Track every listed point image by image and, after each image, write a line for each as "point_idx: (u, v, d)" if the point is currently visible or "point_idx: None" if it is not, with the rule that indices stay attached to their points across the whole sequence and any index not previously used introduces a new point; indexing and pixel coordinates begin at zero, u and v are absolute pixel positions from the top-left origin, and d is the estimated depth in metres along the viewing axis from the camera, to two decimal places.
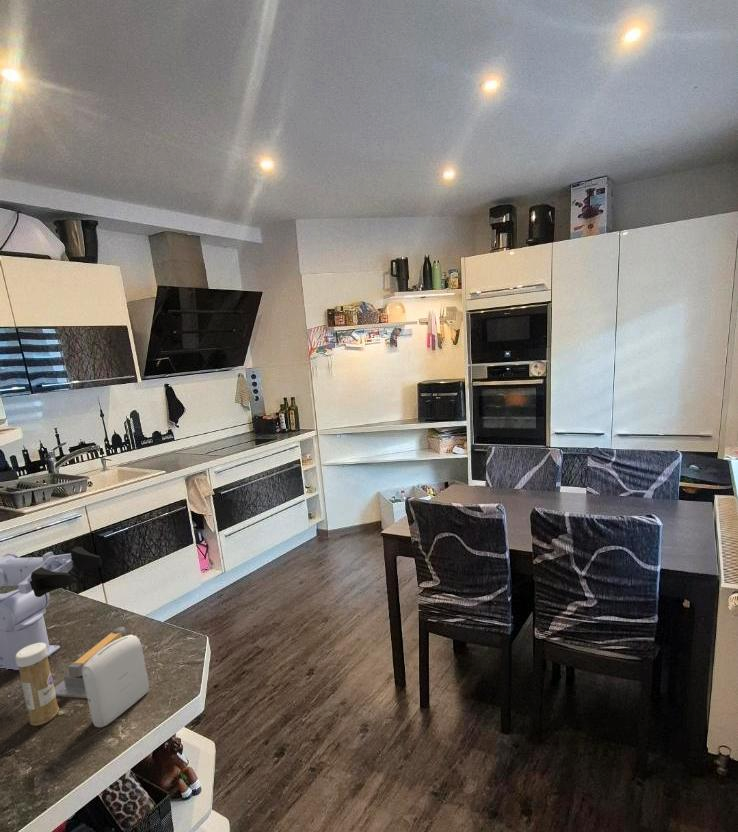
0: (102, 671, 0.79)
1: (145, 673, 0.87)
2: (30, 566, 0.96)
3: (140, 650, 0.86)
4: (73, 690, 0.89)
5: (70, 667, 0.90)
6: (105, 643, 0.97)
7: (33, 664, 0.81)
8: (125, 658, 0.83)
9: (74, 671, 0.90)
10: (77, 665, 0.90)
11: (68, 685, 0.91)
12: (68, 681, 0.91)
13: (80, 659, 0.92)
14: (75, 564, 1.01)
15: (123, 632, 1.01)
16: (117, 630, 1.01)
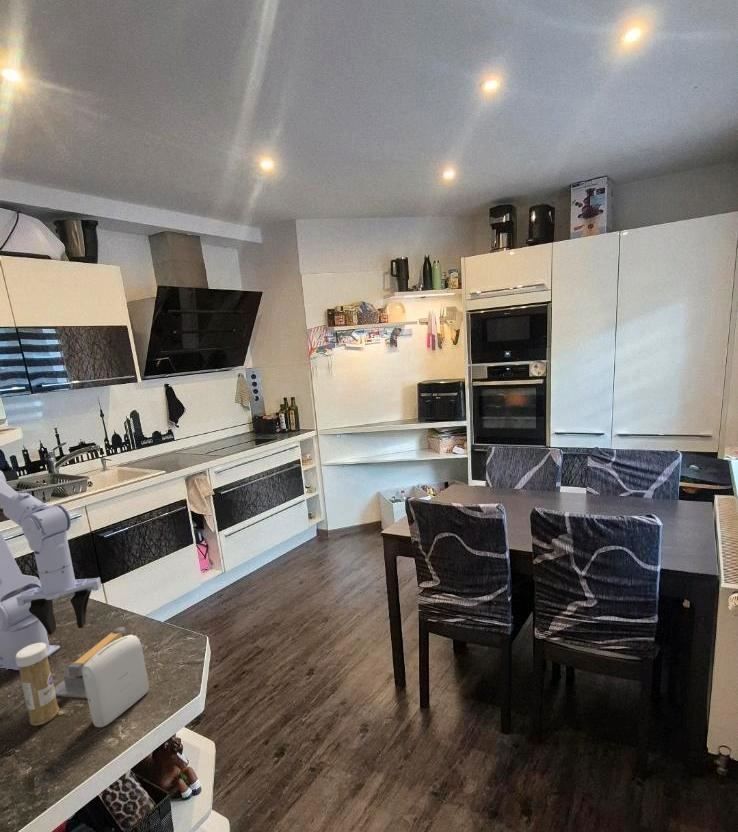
0: (102, 671, 0.79)
1: (145, 673, 0.87)
2: (41, 581, 0.91)
3: (140, 650, 0.86)
4: (73, 690, 0.89)
5: (70, 667, 0.90)
6: (105, 643, 0.97)
7: (33, 664, 0.81)
8: (125, 658, 0.83)
9: (74, 671, 0.90)
10: (77, 665, 0.90)
11: (68, 685, 0.91)
12: (68, 681, 0.91)
13: (80, 659, 0.92)
14: None
15: (123, 632, 1.01)
16: (117, 630, 1.01)
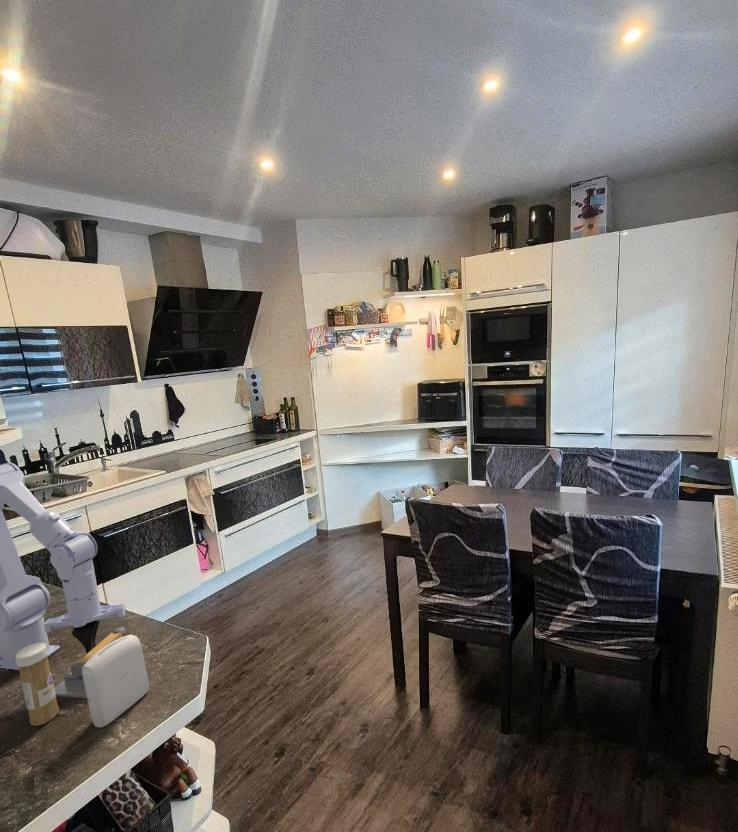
0: (102, 671, 0.79)
1: (145, 673, 0.87)
2: (69, 609, 0.92)
3: (140, 650, 0.86)
4: (73, 690, 0.89)
5: (73, 667, 0.90)
6: (106, 643, 0.97)
7: (33, 664, 0.81)
8: (125, 658, 0.83)
9: (77, 671, 0.89)
10: (80, 665, 0.90)
11: (68, 685, 0.91)
12: (68, 681, 0.91)
13: (82, 659, 0.92)
14: None
15: (123, 632, 1.01)
16: (117, 630, 1.01)
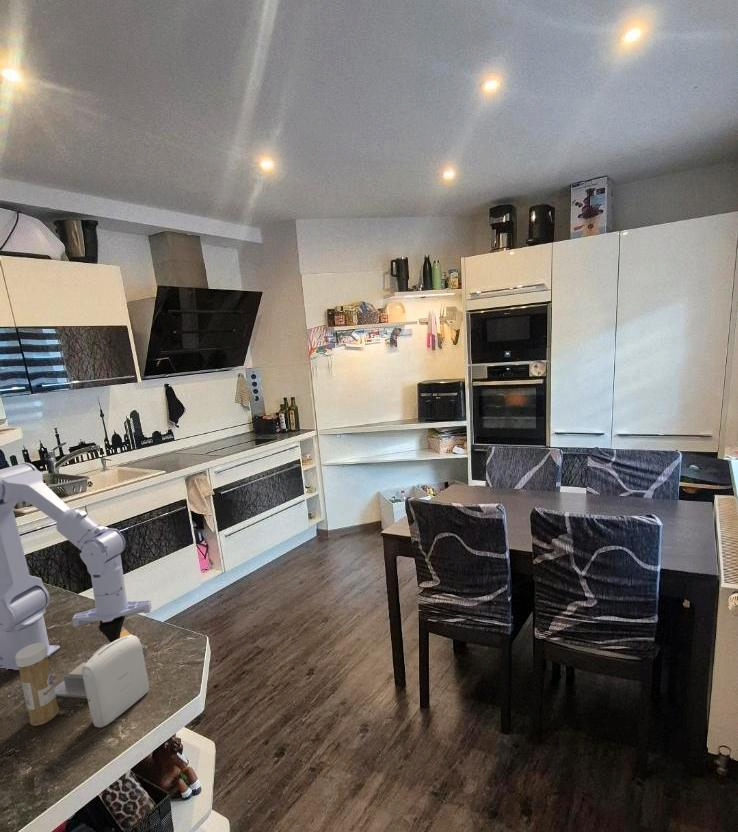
0: (102, 671, 0.79)
1: (145, 673, 0.87)
2: (97, 604, 0.93)
3: (140, 650, 0.86)
4: (73, 690, 0.89)
5: None
6: None
7: (33, 664, 0.81)
8: (125, 658, 0.83)
9: None
10: None
11: (68, 685, 0.91)
12: (68, 681, 0.91)
13: None
14: None
15: None
16: None
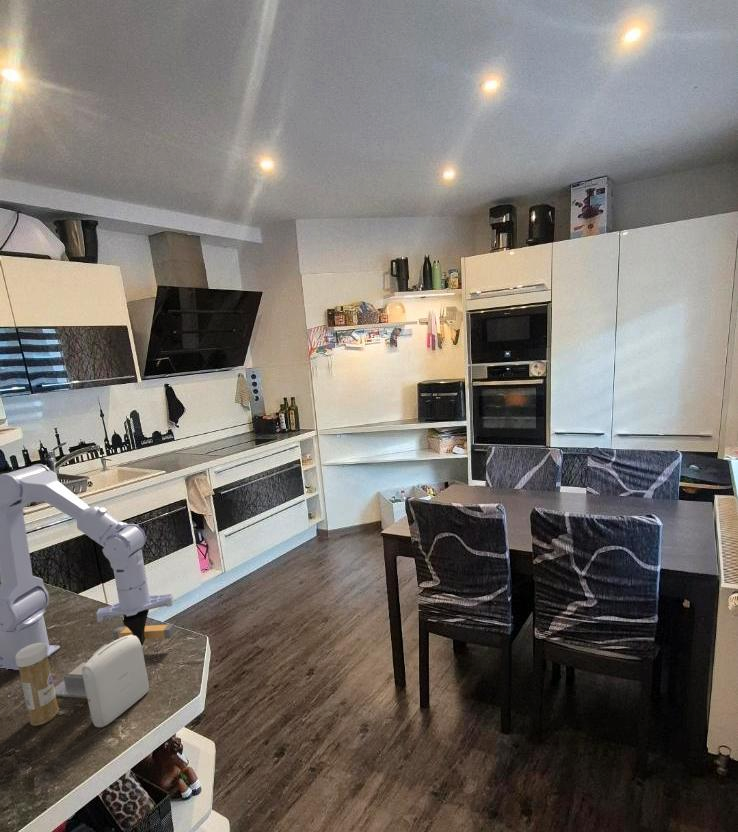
0: (102, 671, 0.79)
1: (145, 673, 0.87)
2: (120, 598, 0.95)
3: (140, 650, 0.86)
4: (73, 690, 0.89)
5: (170, 629, 1.00)
6: None
7: (33, 664, 0.81)
8: (125, 658, 0.83)
9: (172, 630, 1.01)
10: (170, 625, 1.01)
11: (68, 685, 0.91)
12: (68, 681, 0.91)
13: (160, 629, 1.00)
14: None
15: None
16: (119, 630, 1.01)
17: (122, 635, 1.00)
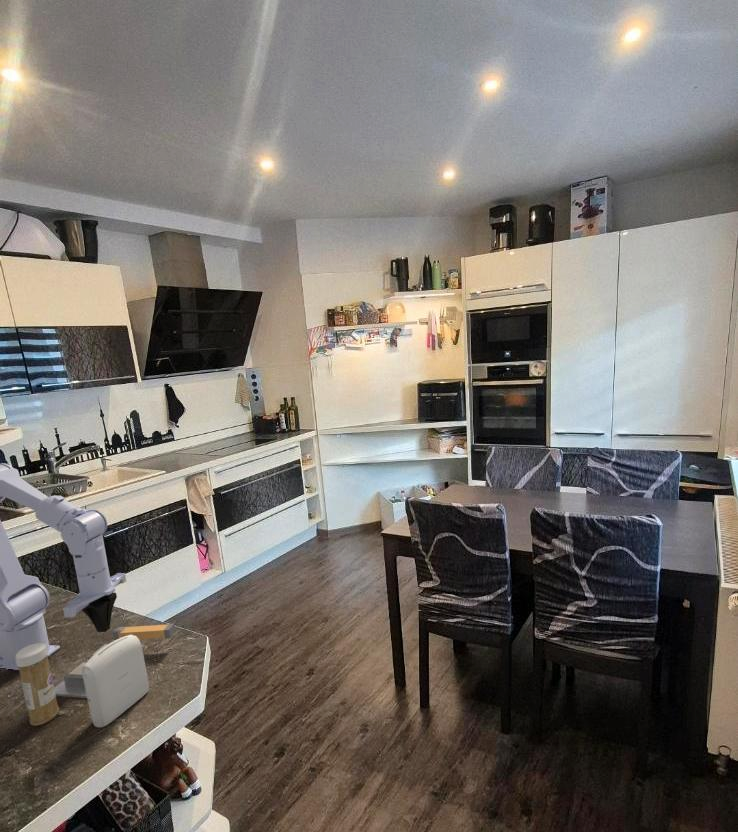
0: (102, 671, 0.79)
1: (145, 673, 0.87)
2: (95, 582, 0.94)
3: (140, 650, 0.86)
4: (73, 690, 0.89)
5: (170, 628, 1.00)
6: (140, 627, 1.02)
7: (33, 664, 0.81)
8: (125, 658, 0.83)
9: (172, 630, 1.01)
10: (170, 625, 1.01)
11: (68, 685, 0.91)
12: (68, 681, 0.91)
13: (160, 629, 1.00)
14: None
15: None
16: (119, 630, 1.01)
17: (122, 635, 1.00)
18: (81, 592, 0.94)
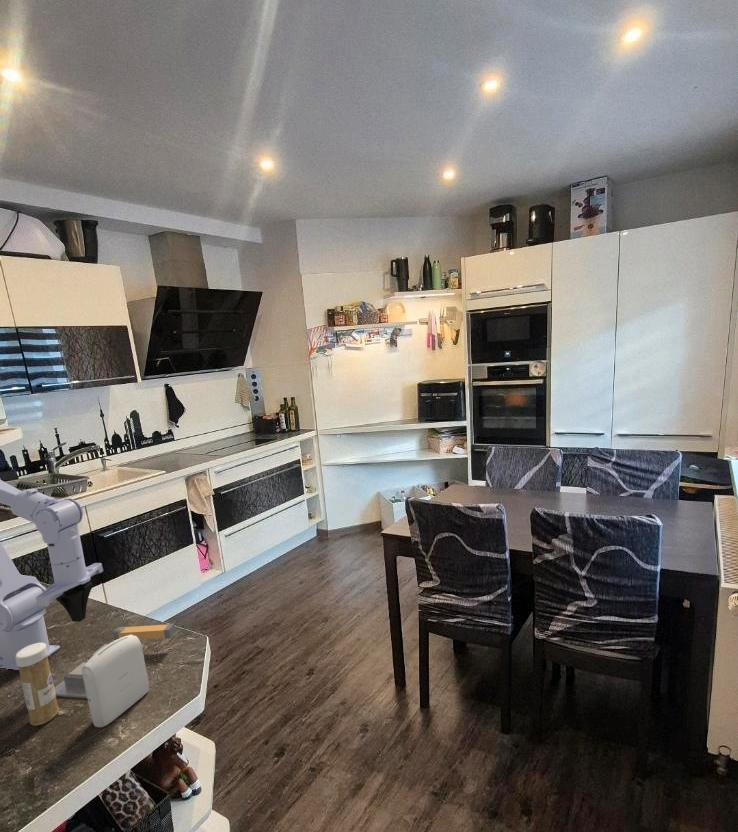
0: (102, 671, 0.79)
1: (145, 673, 0.87)
2: (69, 571, 0.93)
3: (140, 650, 0.86)
4: (73, 690, 0.89)
5: (170, 628, 1.00)
6: (140, 627, 1.02)
7: (33, 664, 0.81)
8: (125, 658, 0.83)
9: (172, 630, 1.01)
10: (170, 625, 1.01)
11: (68, 685, 0.91)
12: (68, 681, 0.91)
13: (160, 629, 1.00)
14: None
15: None
16: (119, 630, 1.01)
17: (122, 635, 1.00)
18: (55, 581, 0.93)
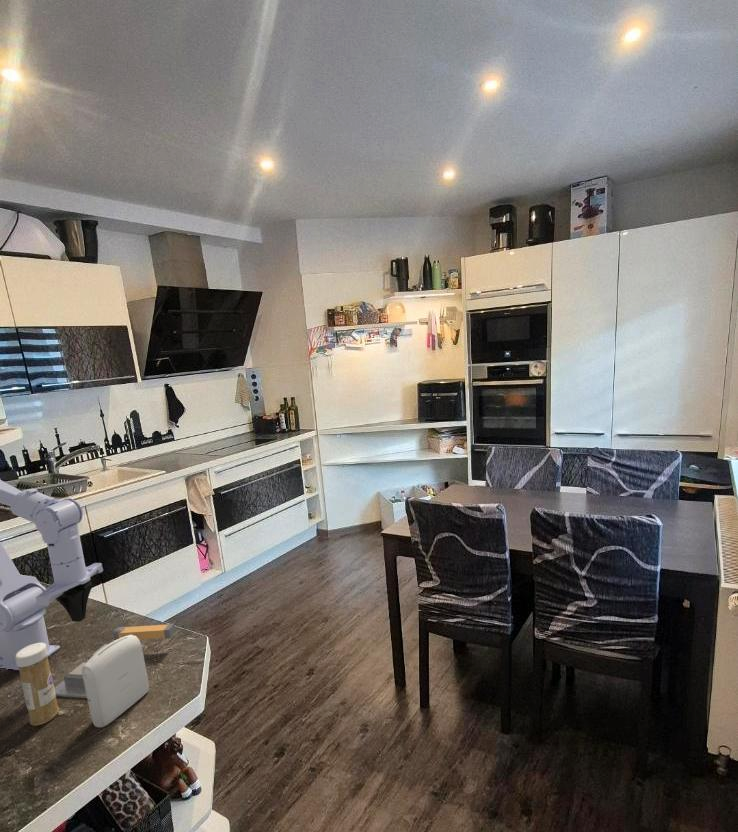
0: (102, 671, 0.79)
1: (145, 673, 0.87)
2: (69, 571, 0.93)
3: (140, 650, 0.86)
4: (73, 690, 0.89)
5: (170, 628, 1.00)
6: (140, 627, 1.02)
7: (33, 664, 0.81)
8: (125, 658, 0.83)
9: (172, 630, 1.01)
10: (170, 625, 1.01)
11: (68, 685, 0.91)
12: (68, 681, 0.91)
13: (160, 629, 1.00)
14: None
15: None
16: (119, 630, 1.01)
17: (122, 635, 1.00)
18: (55, 581, 0.93)
